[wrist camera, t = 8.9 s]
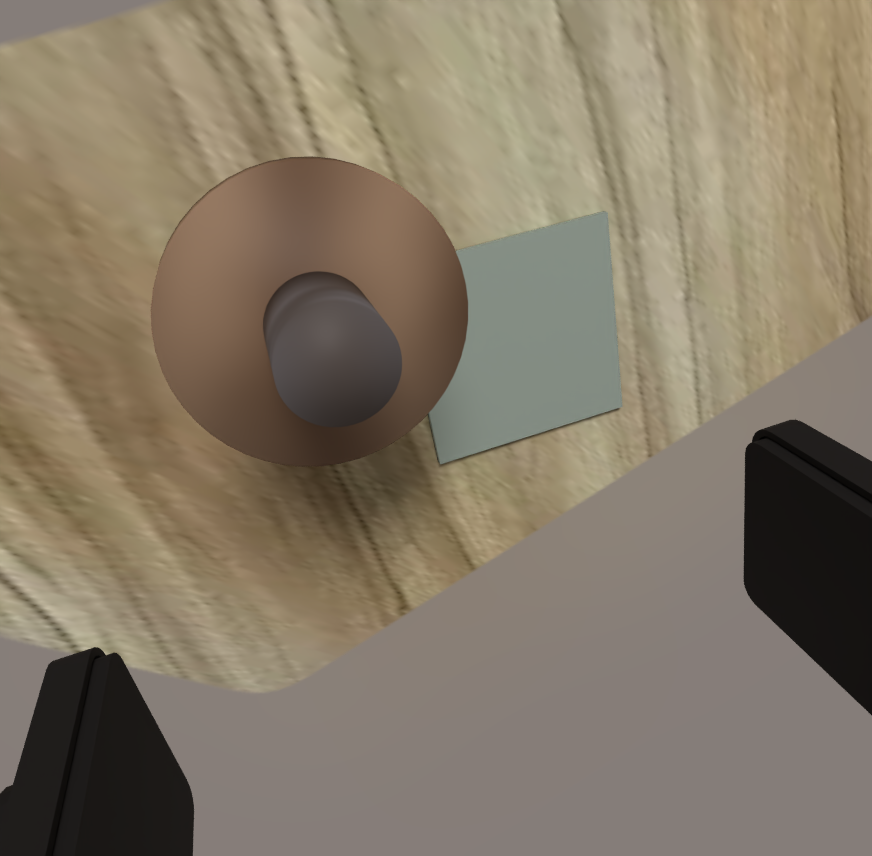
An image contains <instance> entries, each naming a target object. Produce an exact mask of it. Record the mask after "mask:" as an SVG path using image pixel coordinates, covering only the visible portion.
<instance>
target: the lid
mask: <svg viewBox="0 0 872 856" xmlns="http://www.w3.org/2000/svg"><path fill="white" fill-rule="evenodd" d="M151 326H152V335H153V341H154V346H155V352H156V355H157V358H158V361H159V364H160V367H161V370H162V372H163V374H164V376H165V378H166V380H167V382H168V384H169V386H170V388H171V390H172V392H173V393H174V395H175V396H176V398H177V399H178V400H179V402H180V403H181V405H182V406H183V408H184V409H185V410H186V411H187V412H188V413H189V414H190V415H191V416H192V418H193V419H194V420H195V421H196V422H197V423H198V424H200V425H201V426H202V427H203V428H204V429H205V430H207V431H208V432H209V433H210V434H211V435H213V436H214V437H216V438H217V439H219V440H220V441H222V442H223V443H225V444H226V445H228V446H230V447H232V448H234V449H236V450H238V451H240V452H242V453H244V454H247V455H249V456H252V457H255V458H258V459H261V460H264V461H268V462H273V463H278V464H282V465H292V466H325V465H332V464H339V463H343V462H347V461H351V460H355V459H359V458H361V457H364V456H366V455H369V454H372V453H374V452H376V451H378V450H380V449H382V448H384V447H386V446H388V445H390V444H392V443H393V442H395V441H396V440H398V439H399V438H401V437H402V436H404V435H405V434H407V433H408V432H409V431H410V430H411V429H413V428H414V427H415V426H416V425H417V424H418V423H419V422H421V421H422V420H423V419H424V417H425V416H426V415H427V414H428V413H429V412H430V411H431V410H432V409H433V408H434V406H435V405H436V404H437V402H438V401H439V399H440V398H441V397H442V395H443V394H444V393H445V391H446V389H447V387H448V385H449V384H450V382H451V380H452V378H453V376H454V374H455V372H456V369H457V367H458V364H459V362H460V359H461V356H462V352H463V348H464V344H465V341H466V333H467V326H468V297H467V289H466V282H465V278H464V274H463V271H462V267H461V264H460V261H459V259H458V256H457V254H456V251H455V249H454V246H453V245H452V243H451V241H450V239H449V238H448V236H447V234H446V232H445V230H444V229H443V228H442V226H441V225H440V224H439V222H438V221H437V220H436V218H435V217H434V216H433V214H432V213H431V212H430V211H429V210H428V209H427V208H426V207H425V206H424V205H423V204H422V203H421V202H420V201H419V200H418V199H417V198H416V197H414V196H413V195H412V194H410V193H409V192H408V191H406V190H405V189H404V188H402V187H401V186H400V185H398V184H396V183H395V182H393V181H391V180H389V179H387V178H386V177H384V176H382V175H380V174H378V173H376V172H374V171H371V170H369V169H366V168H364V167H361V166H359V165H356V164H353V163H349V162H345V161H341V160H337V159H331V158H321V157H290V158H284V159H278V160H273V161H268V162H265V163H262V164H259V165H256V166H252V167H249V168H247V169H245V170H243V171H241V172H239V173H237V174H235V175H233V176H230V177H228V178H227V179H225V180H224V181H222V182H221V183H219V184H218V185H217V186H215V187H214V188H212V189H211V190H209V191H208V192H207V193H206V194H205V195H204V196H203V197H202V198H201V199H200V200H198V201H197V202H196V203H195V204H194V205H193V206H192V207H191V209H190V210H189V211H188V212H187V214H186V215H185V216H184V217H183V218H182V220H181V221H180V222H179V224H178V226H177V227H176V229H175V231H174V232H173V234H172V236H171V237H170V239H169V241H168V243H167V246H166V248H165V250H164V253H163V255H162V257H161V260H160V264H159V267H158V271H157V275H156V279H155V283H154V287H153V294H152V304H151Z"/></svg>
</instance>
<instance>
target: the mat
mask: <svg viewBox="0 0 872 856" xmlns="http://www.w3.org/2000/svg"><path fill="white" fill-rule="evenodd" d="M456 254H457V256H458V259H459V261H460V264H461V267H462V271H463V274H464V278H465V282H466V289H467V297H468V326H467V333H466V341H465V344H464V348H463V352H462V356H461V359H460V362H459V364H458V367H457V369H456V372H455V374H454V376H453V378H452V380H451V382H450V384H449V385H448V387H447V389H446V391H445V393H444V394H443V395H442V397H441V398H440V399H439V401H438V402H437V404H436V405H435V406H434V408H433V409H432V410H431V411H430V412H429V413H428V417H429V421H430V426H431V430H432V435H433V439H434V444H435V449H436V453H437V458H438V462H439V463H440V464H443V463H446V462H449V461H452V460H456V459H459V458H462V457H465V456H468V455H471V454H475V453H478V452H481V451H484V450H487V449H490V448H493V447H497V446H500V445H503V444H506V443H509V442H512V441H516V440H519V439H522V438H525V437H528V436H531V435H535V434H538V433H541V432H544V431H547V430H550V429H553V428H557V427H560V426H563V425H566V424H569V423H572V422H576V421H579V420H582V419H585V418H588V417H591V416H595V415H598V414H601V413H604V412H607V411H610V410H613V409H617V408H620V407H622V395H621V382H620V369H619V356H618V343H617V330H616V317H615V304H614V290H613V277H612V264H611V251H610V238H609V225H608V212H604V211H603V212H599V213H596V214H592V215H588V216H584V217H581V218H577V219H573V220H569V221H566V222H562V223H558V224H554V225H551V226H547V227H543V228H539V229H536V230H532V231H528V232H524V233H521V234H517V235H513V236H509V237H506V238H502V239H498V240H494V241H490V242H487V243H483V244H479V245H475V246H472V247H468V248H464V249H460V250H457V251H456Z"/></svg>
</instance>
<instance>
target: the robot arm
mask: <svg viewBox="0 0 872 856" xmlns="http://www.w3.org/2000/svg"><path fill="white" fill-rule="evenodd" d="M744 518H745V519H744V585H745V588H746V591H747V593H748V595H749V596H750V598H751V600H752V601H753V602H754V604H755V605H756V606H757V607H758V608H760V609H761V610H762V611H763V612H764V613H765V614H766V615H767V616H768V617H769V618H770V619H771V620H772V621H773V622H774V623H775V624H776V625H777V626H778V627H779V628H781V629H782V630H783V631H784V632H785V633H786V634H787V635H788V636H789V637H790V638H791V639H792V640H793V641H794V642H795V643H796V644H797V645H798V646H799V647H800V648H802V649H803V650H804V651H805V652H806V653H807V654H808V655H809V656H810V657H811V658H812V659H813V660H814V661H815V662H816V663H817V664H818V665H820V666H821V667H822V668H823V669H824V670H825V671H826V672H827V673H828V674H829V675H830V676H831V677H832V678H833V679H834V680H835V681H836V682H837V683H838V684H839V685H841V687H843V688H844V689H845V690H846V691H847V692H848V693H849V694H850V695H851V696H852V697H853V698H854V699H855V700H856V701H857V702H858V703H859V704H861V706H863V707H864V708H865V709H866V710H867V711H868V712H869V713H870V714H871V715H872V461H870V460H868V459H867V458H865V457H863V456H861V455H860V454H858V453H856V452H854V451H853V450H851V449H849V448H847V447H845V446H844V445H842V444H840V443H838V442H837V441H835V440H833V439H831V438H830V437H827V436H826V435H824V434H822V433H821V432H819V431H817V430H815V429H813V428H812V427H810V426H808V425H807V424H805V423H803V422H801V421H798V420H789V421H786V422H783V423H780V424H776V425H773V426H770V427H767V428H764V429H761V430H759V431H757V432H756V433H755V435H754V436H753V440H752V443H750V444H749V445H748V446H747V448H746V452H745V513H744ZM193 827H194V804H193V797H192V793H191V789H190V786H189V784H188V782H187V779H186V777H185V776H184V774H183V772H182V770H181V768H180V766H179V764H178V763H177V761H176V759H175V757H174V755H173V753H172V751H171V749H170V748H169V746H168V744H167V742H166V740H165V738H164V736H163V734H162V733H161V731H160V729H159V727H158V725H157V723H156V721H155V720H154V718H153V716H152V714H151V712H150V710H149V708H148V706H147V705H146V703H145V701H144V699H143V697H142V695H141V694H140V692H139V690H138V688H137V686H136V684H135V682H134V680H133V679H132V677H131V675H130V673H129V671H128V669H127V667H126V665H125V664H124V662H123V660H122V658H121V657H120V655H118V654H117V653H112V654H109V655H105V654H104V652H103V651H102V650H101V649H100V648H96V647H94V648H91V649H88V650H85V651H82V652H79V653H76V654H73V655H70V656H67V657H64V658H61V659H58V660H55V661H52V662H51V663H50V664H49V665H48V667H47V669H46V673H45V676H44V680H43V683H42V686H41V690H40V693H39V697H38V700H37V703H36V707H35V710H34V714H33V717H32V721H31V724H30V728H29V731H28V734H27V738H26V741H25V745H24V748H23V752H22V755H21V759H20V762H19V765H18V769H17V773H16V776H15V780H14V783H13V785H11V786H9V787H6V788H5V789H4V791H2V793H1V794H0V856H193Z"/></svg>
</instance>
